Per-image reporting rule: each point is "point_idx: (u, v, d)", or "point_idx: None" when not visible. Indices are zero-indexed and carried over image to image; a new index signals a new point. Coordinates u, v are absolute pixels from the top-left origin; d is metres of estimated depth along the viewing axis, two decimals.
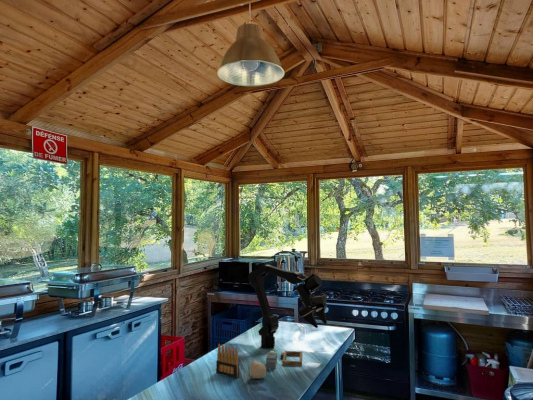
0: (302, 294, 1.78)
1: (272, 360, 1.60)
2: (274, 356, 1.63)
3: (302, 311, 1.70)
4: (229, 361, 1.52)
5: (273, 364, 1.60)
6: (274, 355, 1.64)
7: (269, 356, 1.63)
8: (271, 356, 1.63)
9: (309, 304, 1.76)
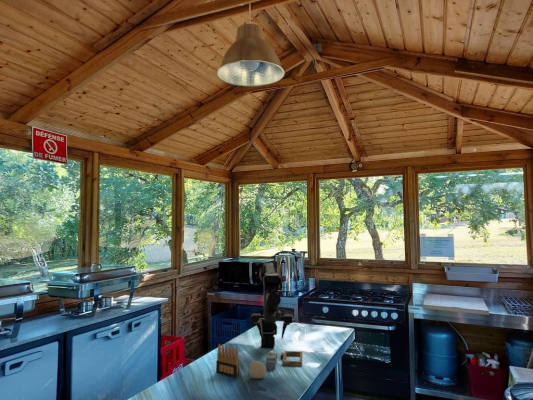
0: (265, 300, 1.66)
1: (272, 360, 1.60)
2: (274, 356, 1.63)
3: None
4: (229, 361, 1.52)
5: (273, 364, 1.60)
6: (274, 355, 1.64)
7: (269, 356, 1.63)
8: (271, 356, 1.63)
9: None
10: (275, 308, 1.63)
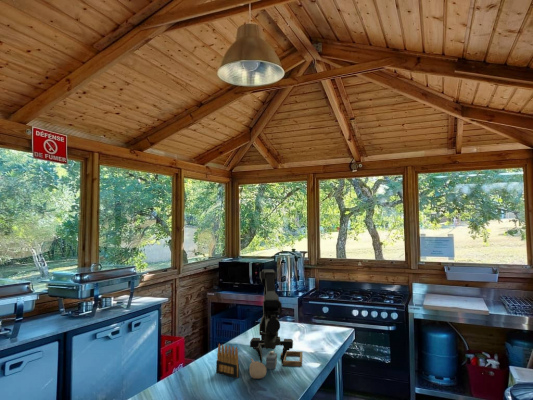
0: (265, 325, 1.65)
1: (272, 360, 1.60)
2: (274, 356, 1.62)
3: None
4: (229, 361, 1.52)
5: (273, 364, 1.60)
6: (274, 355, 1.64)
7: (269, 356, 1.62)
8: (271, 356, 1.62)
9: None
10: (275, 333, 1.62)
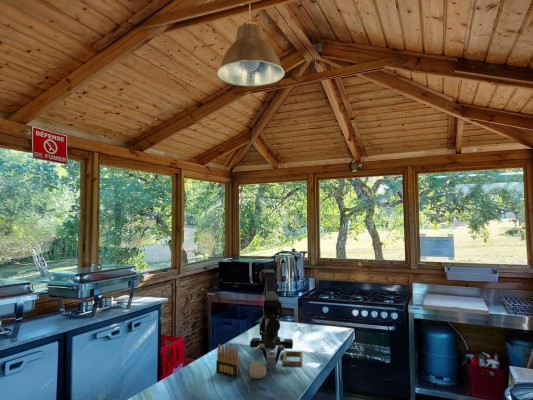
0: (265, 325, 1.65)
1: (272, 360, 1.60)
2: (274, 356, 1.62)
3: None
4: (229, 361, 1.52)
5: (273, 364, 1.60)
6: (274, 355, 1.64)
7: (269, 356, 1.62)
8: (271, 356, 1.62)
9: None
10: (275, 333, 1.62)
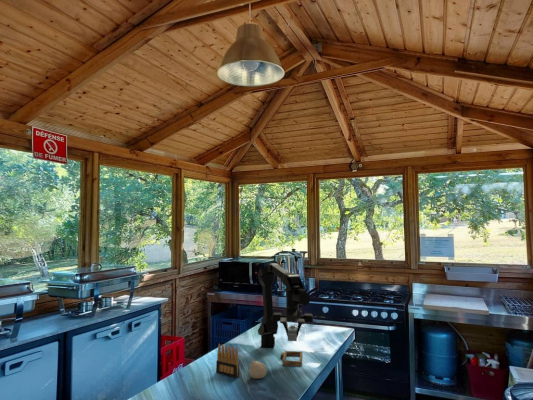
0: (287, 300, 1.71)
1: (293, 333, 1.67)
2: (295, 329, 1.70)
3: None
4: (229, 361, 1.52)
5: (294, 336, 1.68)
6: (295, 328, 1.71)
7: (290, 329, 1.70)
8: (292, 329, 1.70)
9: None
10: (296, 308, 1.69)
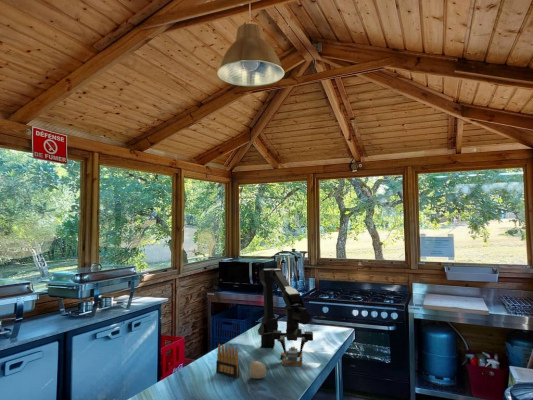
0: (287, 318, 1.71)
1: (294, 355, 1.67)
2: (295, 351, 1.69)
3: None
4: (229, 361, 1.52)
5: (294, 359, 1.67)
6: (295, 350, 1.71)
7: (290, 351, 1.69)
8: (292, 351, 1.69)
9: None
10: (296, 326, 1.69)
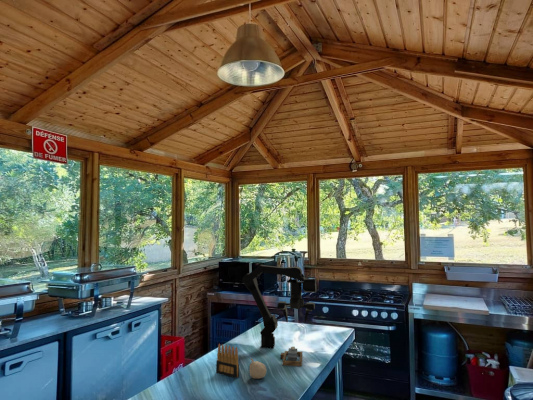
0: (295, 290, 1.88)
1: (294, 355, 1.66)
2: (295, 351, 1.69)
3: None
4: (229, 361, 1.52)
5: (294, 359, 1.67)
6: (295, 350, 1.70)
7: (290, 351, 1.69)
8: (292, 351, 1.69)
9: None
10: (299, 296, 1.87)
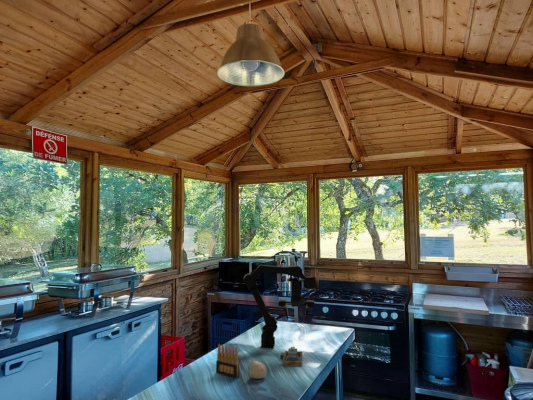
0: (297, 288, 1.92)
1: (293, 355, 1.66)
2: (295, 351, 1.69)
3: None
4: (229, 361, 1.52)
5: (294, 359, 1.67)
6: (295, 350, 1.70)
7: (290, 351, 1.69)
8: (292, 351, 1.69)
9: None
10: (299, 295, 1.91)
